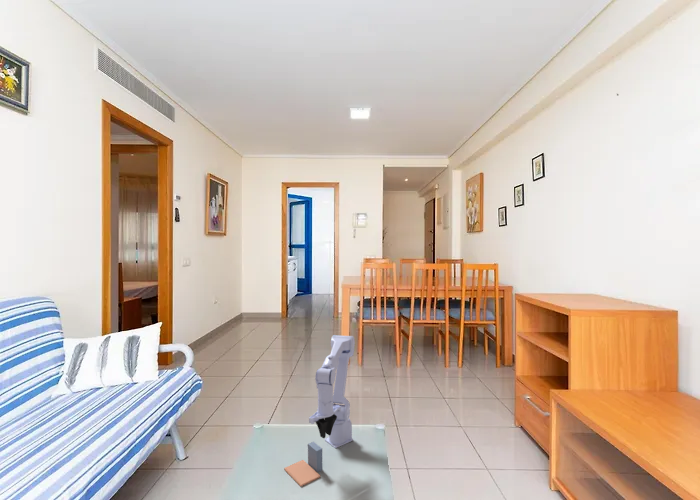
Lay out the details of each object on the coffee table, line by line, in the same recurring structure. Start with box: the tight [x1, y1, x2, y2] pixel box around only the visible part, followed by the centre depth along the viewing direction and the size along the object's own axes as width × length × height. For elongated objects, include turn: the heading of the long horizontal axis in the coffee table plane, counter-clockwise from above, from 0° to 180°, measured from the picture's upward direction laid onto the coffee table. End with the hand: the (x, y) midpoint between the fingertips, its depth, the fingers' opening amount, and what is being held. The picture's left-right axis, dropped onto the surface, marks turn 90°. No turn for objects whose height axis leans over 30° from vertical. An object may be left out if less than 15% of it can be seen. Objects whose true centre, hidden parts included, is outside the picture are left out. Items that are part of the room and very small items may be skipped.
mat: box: [283, 459, 321, 487], centre depth 131 cm, size 8×12×1 cm, turn 38°
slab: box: [307, 441, 323, 473], centre depth 134 cm, size 2×6×8 cm, turn 38°
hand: (325, 435), depth 137 cm, fingers open, 2 cm apart
